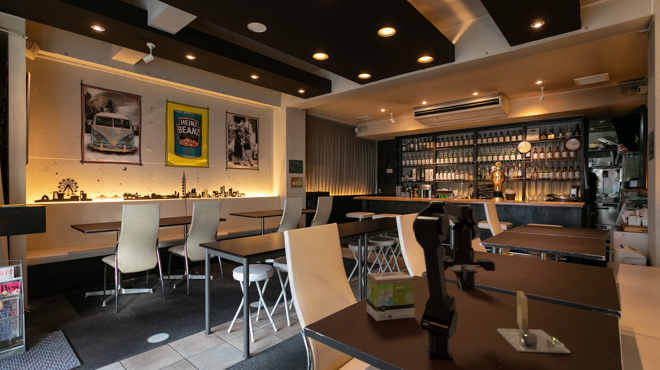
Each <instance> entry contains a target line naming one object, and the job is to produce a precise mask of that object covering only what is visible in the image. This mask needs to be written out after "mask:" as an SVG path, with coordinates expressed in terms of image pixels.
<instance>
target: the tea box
mask: <svg viewBox="0 0 660 370" xmlns="http://www.w3.org/2000/svg"><path fill="white" fill-rule="evenodd" d="M366 277H367V278H366V312H367V313H368V315H370V316H371V317H372V318H373V319H374V320H375V321H376V322H380V321H387V320H388V321H389V320H397V319H398V320H399V319H411V318H415V306H416V305H415V303H416V302H415V298H416V297H415V296H416V295H415V293H416V291H415V289H416V283H415V282H416V278H415V277H414V276H412V275H410V274H408V273H405V272H404V271H391V272H373V273H367V275H366Z"/></svg>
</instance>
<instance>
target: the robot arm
mask: <svg viewBox="0 0 660 370" xmlns="http://www.w3.org/2000/svg"><path fill="white" fill-rule="evenodd" d="M434 215H439V216H440V217H439V216H434ZM441 216H443V217H441ZM478 219H479V218H478V215H477V211H476V209H475V208H474V206H473V205H470V204H469V205H468V204H467V205H465V204H454V203H451V202H449V201H447V200H432V201H430V202H429V204H428V205H427V206H426V207H425V208H423V209H422V210H421V211H419V212H418V213H417V214H416V217H415V219H414V220H413V222H412V231H413V233H414V237H415V241H416V242H417V243H418V245H419V246H420V247H421V249H422V252H423V258H424V264H425V272H426V278H427V279H426V280H427V286H428V293H429V297H428V299H427V300H426V303H425V304H424V311H423V313H422V317H421V319H420V322H419V328H420V330H421V331H426V332H427V345H424V350H425V352H426V354H427V356H428V358H429V359H431V360H432V359H433V360H454V356H453V354H452V353H451V351H450V339H451V338H452V337H454V336H455V335H456V334H457V328H458V327H457V326H458V320H459V319H458V318H459V317H458V316H459V315H458V311H457V306H456V298H455V296H453V295H449V293H448V291H447V288H448V287H447V281H446V274H445V273H446V272H445V271H447V270H450V271H451V272H452V273H453V274H454V275H455V276H456V279H458V282H459V285H460V288H461V289H460V288H459V289H460V291H462V292H465V291H467V290H466V287H467V285H468V283H469V281H470V279H471V278H472V276H473V275H474V273H475V274H477V273H478V272H477V270H476V268H482V269H483V271H485V272H495V271H496V263H495V262H494V261H492V260H490V259H489V258H477V259H476V261H474V262H473V260H472V251H473V249H474V247H473V241H474V240H477V239H478V238H480V236H481V234H482V230H481V228H480V226H479V220H478ZM450 221H451V222H452V224H453V226H452V227H451V226H450V225H451V222H450ZM449 227H451V230H452V240H453V241H452V247H451V248H450V247H447V246H446V247H443V248H442V245H443V244H444V242H445V240H446V239H447V232H448V230H449ZM442 249H443V250H442ZM446 258H448V259H449V260H446ZM459 264H460V265H459ZM461 267H462V270H463V271H462V270H461Z"/></svg>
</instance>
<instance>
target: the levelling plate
mask: <svg viewBox="0 0 660 370" xmlns="http://www.w3.org/2000/svg"><path fill="white" fill-rule="evenodd" d="M528 329H529V331H530V333H532V334H535V335H536V336H537V345H528V344H525V343H523V342H522V341H521V333H522V332H521V330H520V328H496V331H497V332H498V333H499V334H500V335H501V336H502V337H503V338H504V339H505V340H506V341H507V342H508V343H509V344H510V345H511V346H512V347H513V348H514V349H515V350H516V351H517V352H519V353H520V352H524V353H525V352H526V353H527V352H528V353H554V354H556V353H557V354H571V351H570V349H568V348H567V347H566V346H565V344H564V343H562V342H561V341H560V340H559V339H557V338H556V337H555V336H551V335H549V333H547V332H545V331H544V330H543V329H532V328H531V329H530V328H528Z"/></svg>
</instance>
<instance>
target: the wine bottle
mask: <svg viewBox="0 0 660 370" xmlns="http://www.w3.org/2000/svg"><path fill="white" fill-rule="evenodd" d="M472 260H473V262H475V249H474V248H473V251H472ZM459 265H460V264H459ZM461 270H462V267H461ZM462 271H463V270H462ZM475 276H476V273H474V275H473V276H472V278H471V279H470V281H469V283H468V285H467V287H466V290H465V291H472V289H474V288H475V287H476V282H475V280H476V279H475V278H476V277H475ZM456 288H458V289H460V290H461V288H460V285H459V282H458V279H457V278H456ZM475 289H476V288H475ZM475 289H474V290H475Z"/></svg>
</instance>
